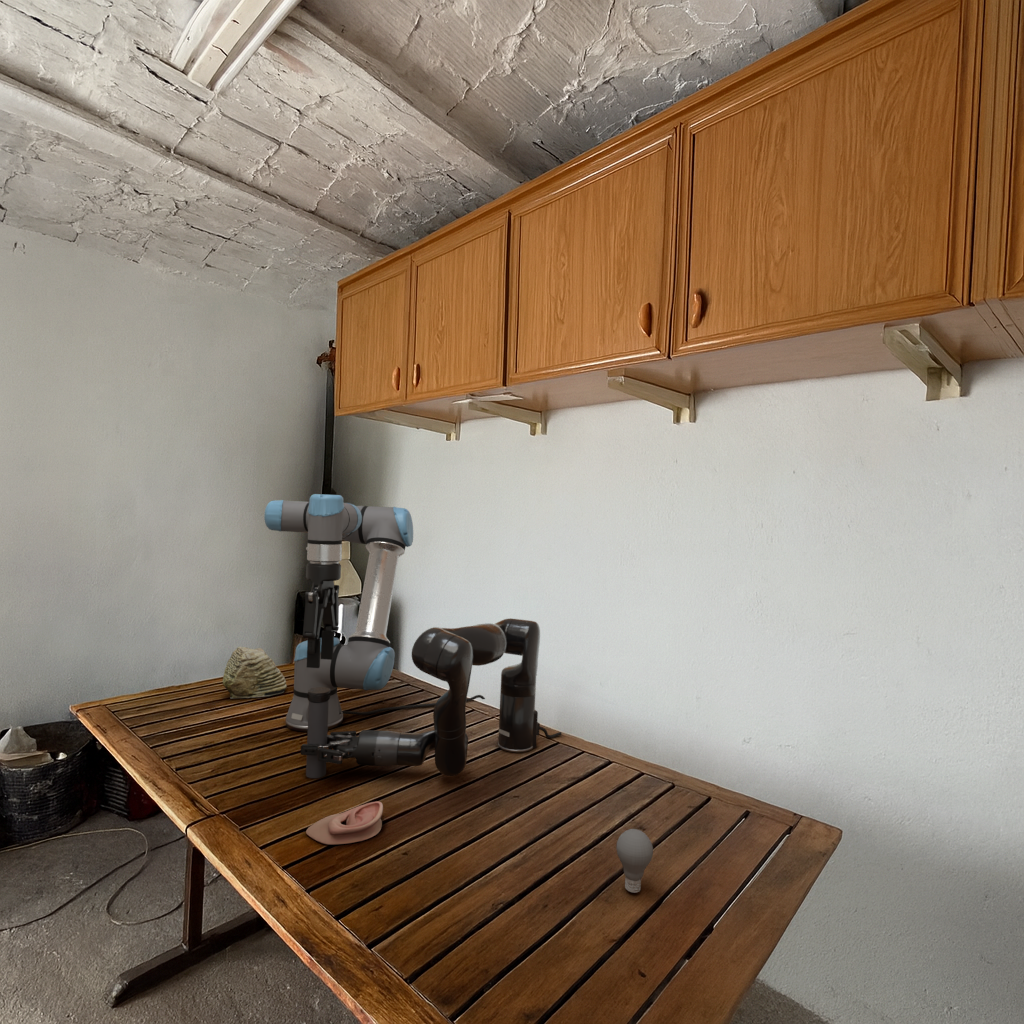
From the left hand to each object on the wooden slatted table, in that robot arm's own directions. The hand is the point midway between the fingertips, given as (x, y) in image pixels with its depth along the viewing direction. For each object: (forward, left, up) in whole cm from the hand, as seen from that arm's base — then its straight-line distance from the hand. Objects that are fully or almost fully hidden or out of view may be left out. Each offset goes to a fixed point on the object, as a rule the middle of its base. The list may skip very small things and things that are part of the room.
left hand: (320, 662), depth 144 cm
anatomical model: (+10, +25, -26) cm, 37 cm away
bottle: (0, 0, -26) cm, 26 cm away
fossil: (-20, -62, -26) cm, 69 cm away
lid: (0, 0, -7) cm, 7 cm away
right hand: (+2, -2, -19) cm, 19 cm away
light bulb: (-10, +75, -26) cm, 80 cm away
